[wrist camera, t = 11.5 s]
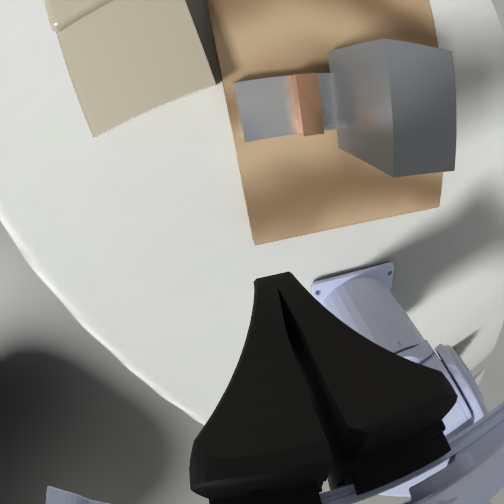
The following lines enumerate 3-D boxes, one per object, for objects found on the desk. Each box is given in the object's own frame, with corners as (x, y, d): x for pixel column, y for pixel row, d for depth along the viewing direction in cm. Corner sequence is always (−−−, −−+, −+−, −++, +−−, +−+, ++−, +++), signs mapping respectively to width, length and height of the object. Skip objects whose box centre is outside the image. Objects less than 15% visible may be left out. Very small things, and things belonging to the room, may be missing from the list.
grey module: (392, 143, 16) (454, 170, 11) (338, 148, 16) (393, 177, 11) (384, 52, 13) (450, 48, 8) (326, 49, 13) (382, 35, 8)
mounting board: (432, 202, 21) (439, 206, 20) (252, 238, 21) (254, 245, 20) (419, -3, 12) (427, -5, 11) (203, -14, 11) (203, -19, 10)
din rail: (439, 122, 16) (457, 127, 15) (243, 139, 16) (247, 145, 14) (437, 79, 15) (455, 81, 13) (232, 83, 14) (235, 82, 12)
